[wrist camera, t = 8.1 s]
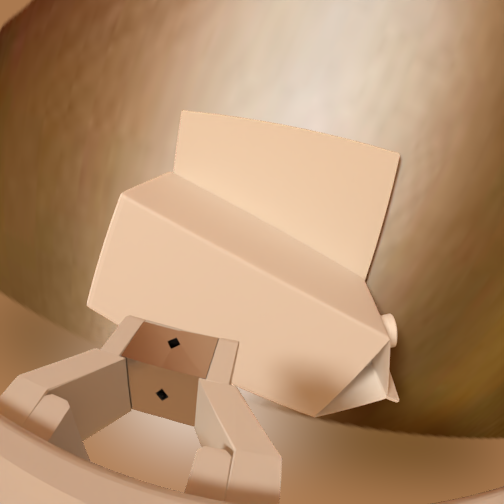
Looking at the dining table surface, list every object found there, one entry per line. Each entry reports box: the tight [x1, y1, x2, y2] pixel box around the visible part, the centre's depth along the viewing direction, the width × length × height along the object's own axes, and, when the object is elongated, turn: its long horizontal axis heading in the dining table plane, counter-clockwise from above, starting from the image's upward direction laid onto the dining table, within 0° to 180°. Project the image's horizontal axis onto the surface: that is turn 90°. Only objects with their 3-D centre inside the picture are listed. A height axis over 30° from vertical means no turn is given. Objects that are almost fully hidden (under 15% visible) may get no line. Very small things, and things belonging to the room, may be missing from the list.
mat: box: [173, 110, 400, 281], centre depth 21 cm, size 14×13×1 cm
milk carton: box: [87, 172, 399, 417], centre depth 19 cm, size 7×7×19 cm
